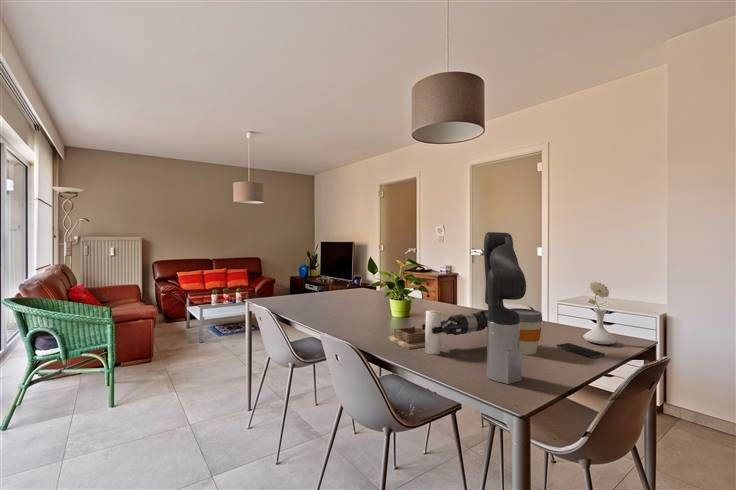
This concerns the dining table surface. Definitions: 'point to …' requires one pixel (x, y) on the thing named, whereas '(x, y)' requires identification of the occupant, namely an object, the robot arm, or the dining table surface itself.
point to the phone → (580, 350)
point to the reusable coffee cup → (529, 330)
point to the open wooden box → (409, 337)
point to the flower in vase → (599, 317)
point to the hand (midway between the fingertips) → (427, 328)
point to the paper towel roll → (432, 339)
